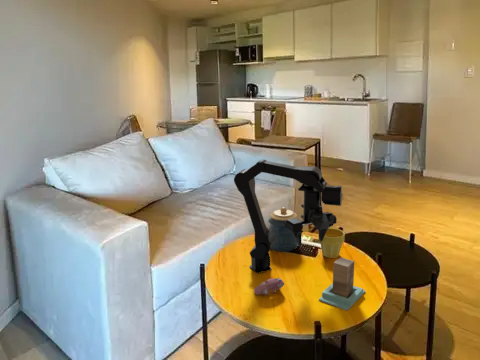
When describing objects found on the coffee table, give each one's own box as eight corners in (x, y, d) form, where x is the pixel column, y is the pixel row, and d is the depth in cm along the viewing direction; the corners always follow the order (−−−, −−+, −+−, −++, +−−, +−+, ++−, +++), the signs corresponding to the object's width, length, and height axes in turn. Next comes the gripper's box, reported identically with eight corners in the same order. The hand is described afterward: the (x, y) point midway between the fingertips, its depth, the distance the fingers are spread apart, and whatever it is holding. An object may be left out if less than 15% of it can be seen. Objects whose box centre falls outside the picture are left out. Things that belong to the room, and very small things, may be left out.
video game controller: (258, 301, 141) (262, 289, 136) (252, 291, 144) (256, 278, 139) (282, 294, 145) (287, 281, 141) (276, 283, 148) (281, 271, 144)
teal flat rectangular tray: (347, 310, 131) (347, 304, 131) (319, 300, 138) (319, 294, 137) (365, 291, 142) (365, 286, 141) (338, 283, 148) (338, 277, 147)
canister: (291, 254, 171) (291, 214, 166) (263, 248, 178) (262, 209, 173) (303, 243, 182) (303, 205, 177) (276, 237, 188) (276, 200, 184)
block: (346, 300, 136) (347, 266, 133) (332, 295, 139) (333, 262, 136) (352, 293, 140) (354, 261, 137) (339, 289, 143) (340, 257, 140)
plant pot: (342, 249, 175) (342, 227, 172) (345, 260, 165) (346, 237, 162) (317, 249, 176) (317, 227, 173) (319, 260, 166) (319, 237, 163)
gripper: (302, 214, 136) (300, 257, 140) (347, 205, 143) (345, 247, 147) (284, 204, 145) (283, 245, 150) (328, 196, 153) (326, 235, 157)
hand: (310, 243), depth 151 cm, fingers open, 9 cm apart
